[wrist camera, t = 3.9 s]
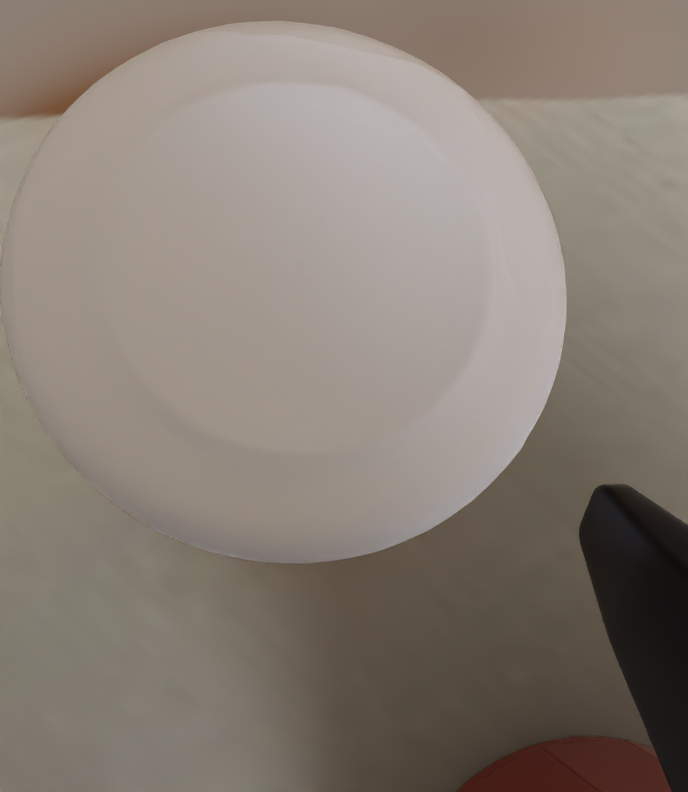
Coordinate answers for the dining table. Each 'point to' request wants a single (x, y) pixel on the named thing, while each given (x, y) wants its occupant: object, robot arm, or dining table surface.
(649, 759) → the pot
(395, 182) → the sprinkles bottle
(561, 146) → the dining table surface
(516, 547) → the dining table surface
